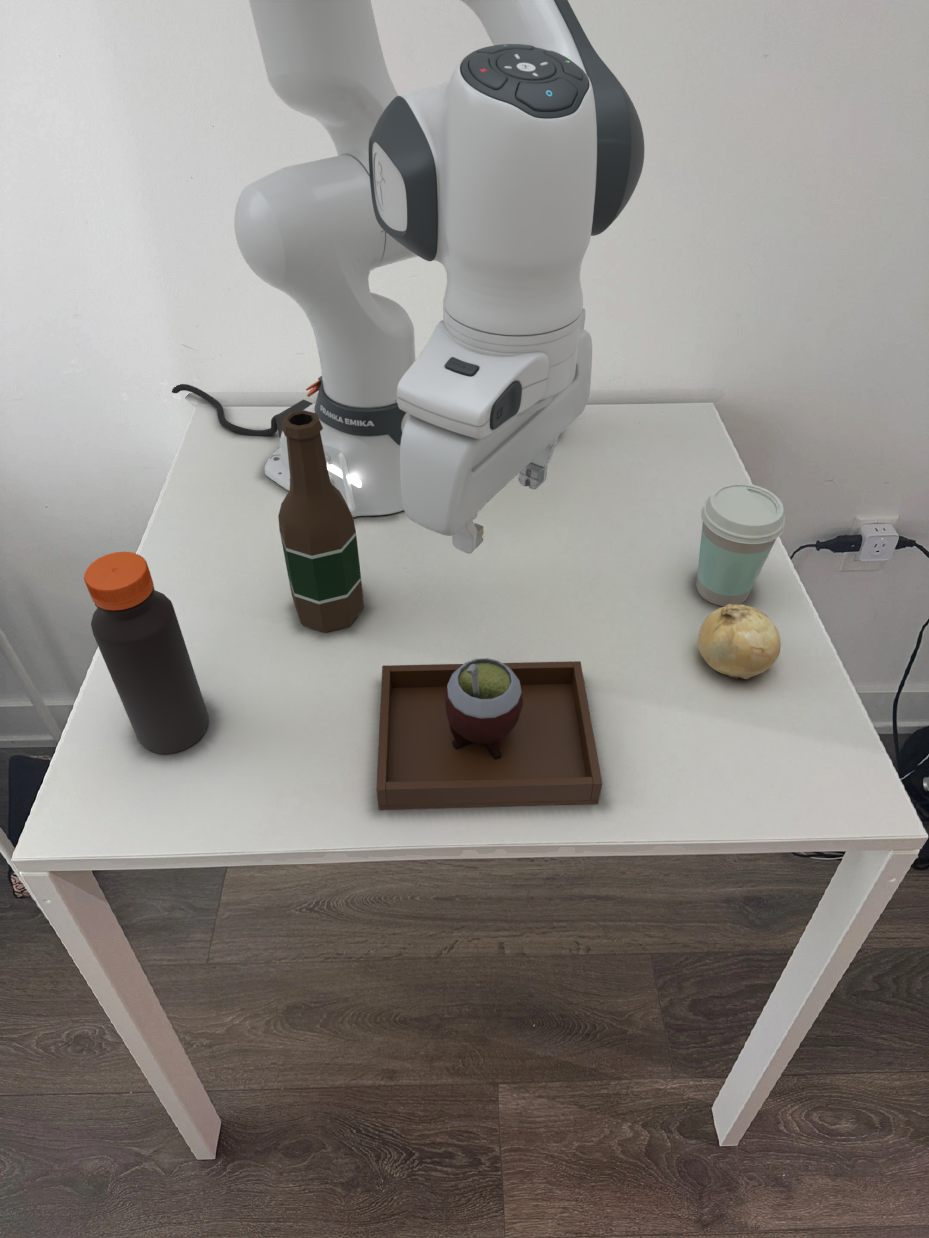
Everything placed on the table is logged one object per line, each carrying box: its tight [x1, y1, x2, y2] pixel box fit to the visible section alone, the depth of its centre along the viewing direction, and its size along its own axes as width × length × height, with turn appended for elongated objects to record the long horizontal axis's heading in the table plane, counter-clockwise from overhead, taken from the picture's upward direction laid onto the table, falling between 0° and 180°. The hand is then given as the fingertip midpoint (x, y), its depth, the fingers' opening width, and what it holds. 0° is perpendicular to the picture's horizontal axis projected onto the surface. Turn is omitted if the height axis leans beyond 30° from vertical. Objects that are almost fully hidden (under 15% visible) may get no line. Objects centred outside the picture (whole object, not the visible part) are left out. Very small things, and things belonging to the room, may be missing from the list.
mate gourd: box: [445, 657, 523, 760], centre depth 76 cm, size 8×8×15 cm
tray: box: [375, 660, 603, 811], centre depth 81 cm, size 20×15×3 cm
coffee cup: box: [695, 482, 786, 607], centre depth 93 cm, size 9×8×12 cm
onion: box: [697, 603, 782, 680], centre depth 87 cm, size 8×8×7 cm
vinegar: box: [83, 551, 210, 755], centre depth 76 cm, size 7×7×20 cm
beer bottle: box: [277, 410, 364, 634], centre depth 86 cm, size 8×8×24 cm
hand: (501, 513), depth 66 cm, fingers open, 8 cm apart
